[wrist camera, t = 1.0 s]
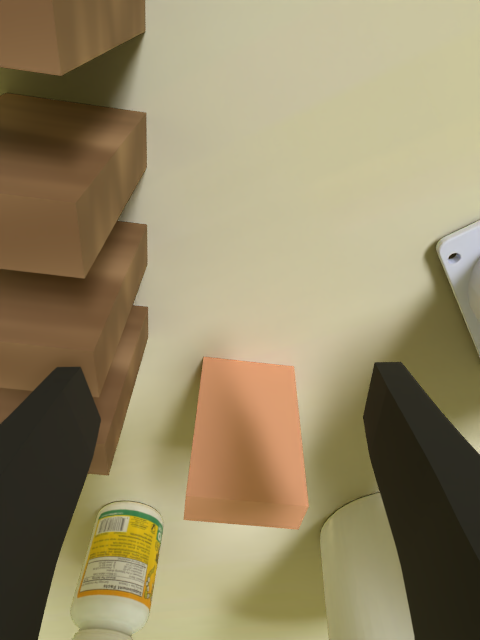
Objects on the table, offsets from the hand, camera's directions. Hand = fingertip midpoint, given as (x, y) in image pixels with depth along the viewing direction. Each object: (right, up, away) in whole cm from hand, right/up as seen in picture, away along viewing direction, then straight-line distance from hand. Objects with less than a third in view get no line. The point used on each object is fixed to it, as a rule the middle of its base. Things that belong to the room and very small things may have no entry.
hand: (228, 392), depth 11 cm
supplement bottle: (-8, -14, +24) cm, 29 cm away
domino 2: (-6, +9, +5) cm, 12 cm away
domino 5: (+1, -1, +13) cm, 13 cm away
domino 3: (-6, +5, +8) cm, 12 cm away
